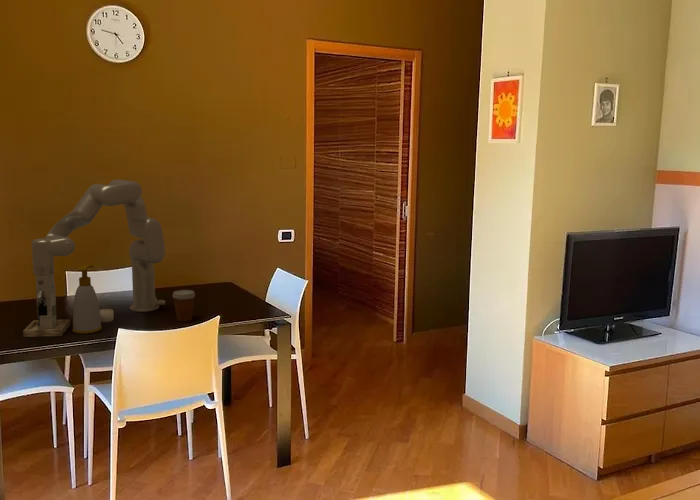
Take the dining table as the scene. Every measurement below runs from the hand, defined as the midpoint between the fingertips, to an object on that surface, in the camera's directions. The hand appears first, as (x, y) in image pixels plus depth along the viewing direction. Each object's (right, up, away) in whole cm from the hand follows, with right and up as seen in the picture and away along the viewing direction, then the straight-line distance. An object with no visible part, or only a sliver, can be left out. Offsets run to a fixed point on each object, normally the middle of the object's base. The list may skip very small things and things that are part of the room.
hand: (46, 312), depth 270 cm
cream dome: (+17, -5, +18) cm, 25 cm away
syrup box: (0, -7, +1) cm, 7 cm away
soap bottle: (+15, -8, +4) cm, 17 cm away
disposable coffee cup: (+50, -5, +22) cm, 54 cm away
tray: (0, -8, +1) cm, 8 cm away
